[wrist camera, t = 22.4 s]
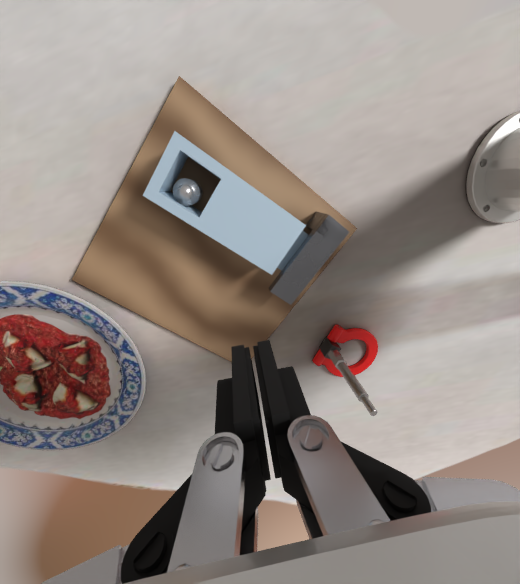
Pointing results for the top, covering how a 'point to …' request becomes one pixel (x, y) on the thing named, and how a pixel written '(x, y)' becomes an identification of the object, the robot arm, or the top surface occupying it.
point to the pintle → (187, 191)
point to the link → (229, 209)
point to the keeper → (309, 256)
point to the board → (196, 236)
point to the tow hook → (338, 365)
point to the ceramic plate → (63, 370)
